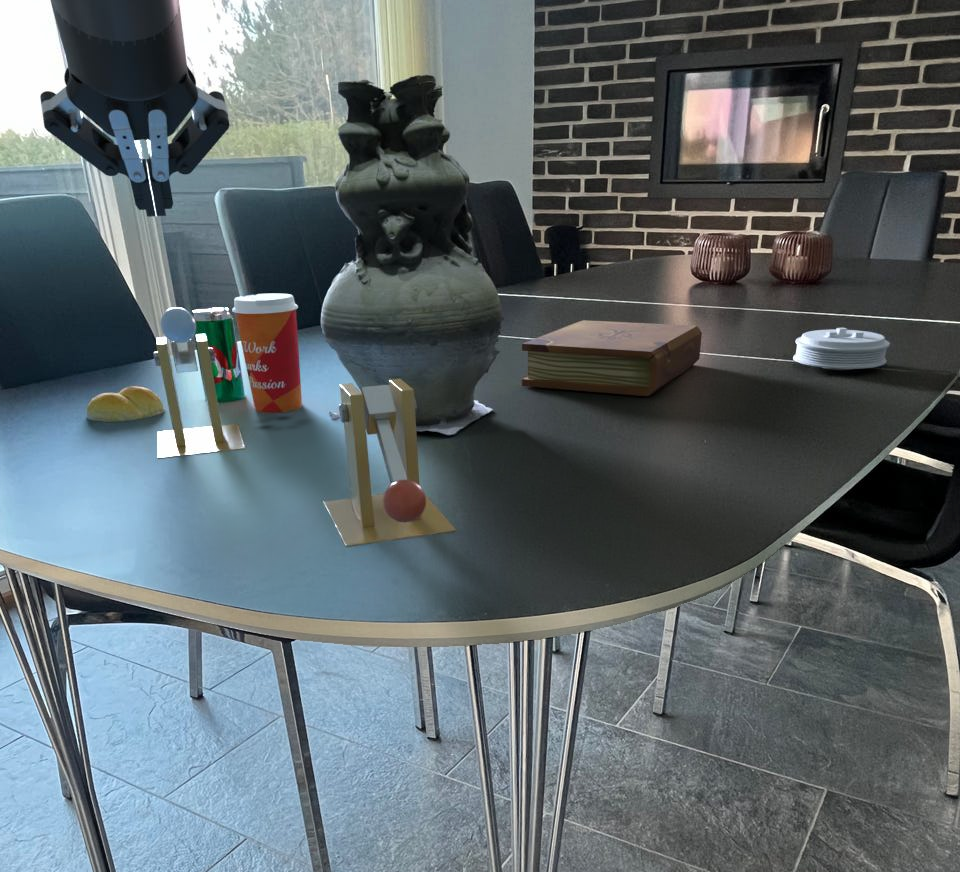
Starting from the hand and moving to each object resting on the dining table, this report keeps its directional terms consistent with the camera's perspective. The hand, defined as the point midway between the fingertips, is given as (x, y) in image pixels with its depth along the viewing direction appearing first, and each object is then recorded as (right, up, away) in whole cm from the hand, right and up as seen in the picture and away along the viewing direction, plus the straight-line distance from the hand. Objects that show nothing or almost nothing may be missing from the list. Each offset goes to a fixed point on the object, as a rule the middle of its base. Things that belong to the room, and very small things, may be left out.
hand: (155, 207), depth 69 cm
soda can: (-7, -4, +45) cm, 45 cm away
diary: (+45, +3, +55) cm, 72 cm away
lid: (+78, +5, +57) cm, 97 cm away
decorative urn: (+18, -7, +38) cm, 43 cm away
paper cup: (+1, -7, +39) cm, 40 cm away
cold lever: (-4, -6, +18) cm, 19 cm away
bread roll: (-18, -7, +39) cm, 43 cm away
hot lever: (+19, -21, -1) cm, 28 cm away
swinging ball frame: (+18, -25, +4) cm, 31 cm away
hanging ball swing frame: (-5, -13, +27) cm, 30 cm away
